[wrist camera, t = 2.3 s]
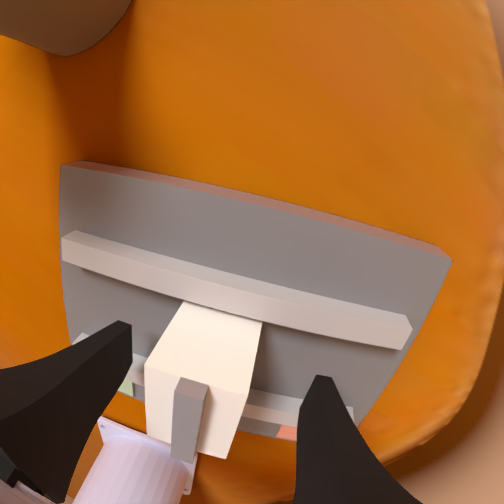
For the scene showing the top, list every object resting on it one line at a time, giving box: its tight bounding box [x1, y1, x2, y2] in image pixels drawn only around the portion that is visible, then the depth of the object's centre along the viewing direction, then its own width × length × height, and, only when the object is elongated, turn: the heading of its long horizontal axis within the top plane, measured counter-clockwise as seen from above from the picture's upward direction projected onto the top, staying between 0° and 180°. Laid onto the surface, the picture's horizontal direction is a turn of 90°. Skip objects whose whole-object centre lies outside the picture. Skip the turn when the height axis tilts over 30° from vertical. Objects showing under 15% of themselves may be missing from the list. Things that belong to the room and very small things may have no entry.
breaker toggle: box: [144, 300, 263, 464], centre depth 10 cm, size 4×3×5 cm
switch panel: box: [59, 160, 453, 442], centre depth 13 cm, size 12×16×2 cm
